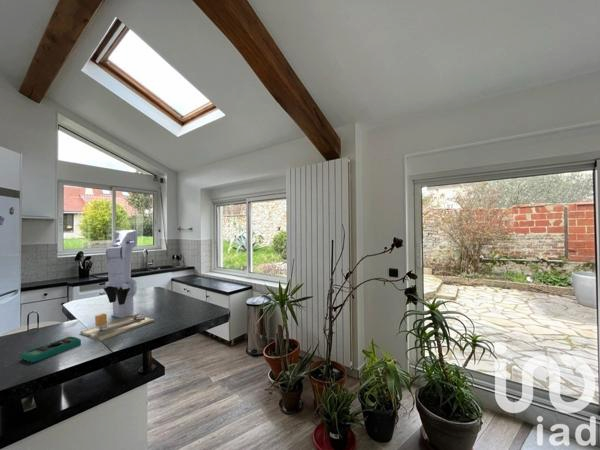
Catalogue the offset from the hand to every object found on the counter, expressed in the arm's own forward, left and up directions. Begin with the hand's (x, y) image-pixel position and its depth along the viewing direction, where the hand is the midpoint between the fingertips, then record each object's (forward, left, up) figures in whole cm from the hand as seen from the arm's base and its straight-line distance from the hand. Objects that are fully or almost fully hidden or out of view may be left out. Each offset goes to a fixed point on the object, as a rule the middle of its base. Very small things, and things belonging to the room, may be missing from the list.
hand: (117, 303), depth 119 cm
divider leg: (+4, -8, -9) cm, 13 cm away
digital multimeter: (+4, -24, -11) cm, 27 cm away
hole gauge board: (+2, -1, -10) cm, 11 cm away
